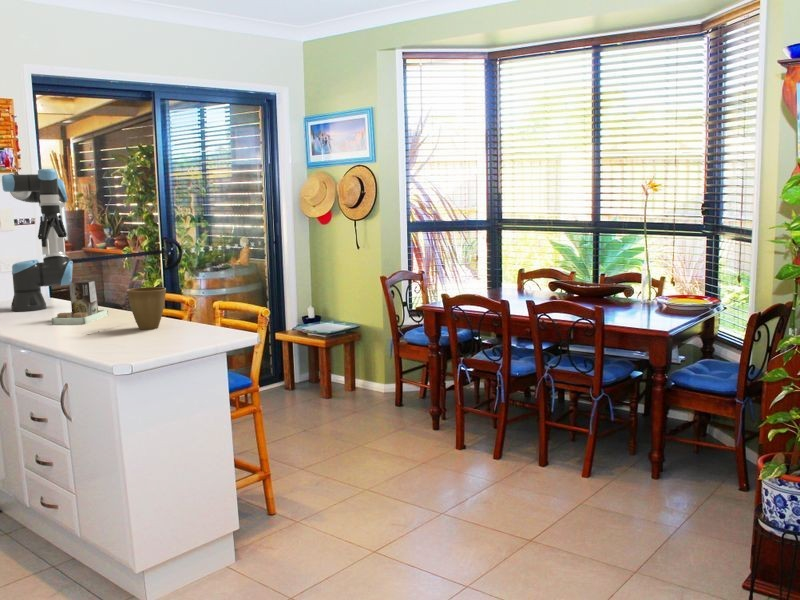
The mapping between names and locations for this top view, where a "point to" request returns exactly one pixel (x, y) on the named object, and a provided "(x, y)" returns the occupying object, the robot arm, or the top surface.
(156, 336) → the top surface
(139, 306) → the plant pot
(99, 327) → the top surface
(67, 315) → the walnut block
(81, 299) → the coffee box
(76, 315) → the walnut block
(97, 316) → the tray
